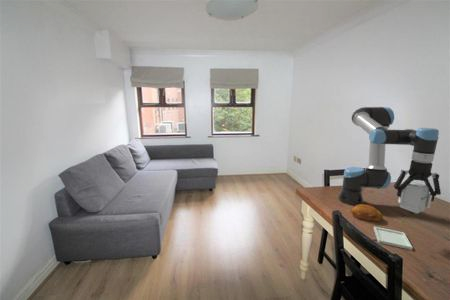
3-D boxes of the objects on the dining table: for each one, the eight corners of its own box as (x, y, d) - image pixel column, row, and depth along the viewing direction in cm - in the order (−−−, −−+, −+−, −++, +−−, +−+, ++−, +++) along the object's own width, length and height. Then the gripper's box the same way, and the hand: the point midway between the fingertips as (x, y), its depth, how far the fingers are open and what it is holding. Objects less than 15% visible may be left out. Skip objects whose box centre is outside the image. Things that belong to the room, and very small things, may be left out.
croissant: (380, 228, 121) (385, 216, 119) (349, 217, 128) (353, 206, 126) (378, 216, 133) (382, 205, 131) (350, 207, 140) (353, 196, 138)
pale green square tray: (373, 228, 117) (373, 226, 116) (403, 234, 111) (404, 232, 111) (378, 242, 105) (378, 240, 105) (412, 250, 100) (412, 247, 99)
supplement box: (417, 214, 102) (422, 189, 99) (399, 207, 108) (404, 183, 105) (425, 210, 105) (430, 186, 102) (407, 204, 111) (412, 181, 108)
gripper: (394, 160, 102) (387, 203, 107) (458, 165, 93) (447, 212, 98) (390, 157, 109) (383, 197, 114) (449, 161, 100) (439, 205, 105)
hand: (413, 204), depth 106 cm, fingers closed on supplement box, 10 cm apart
